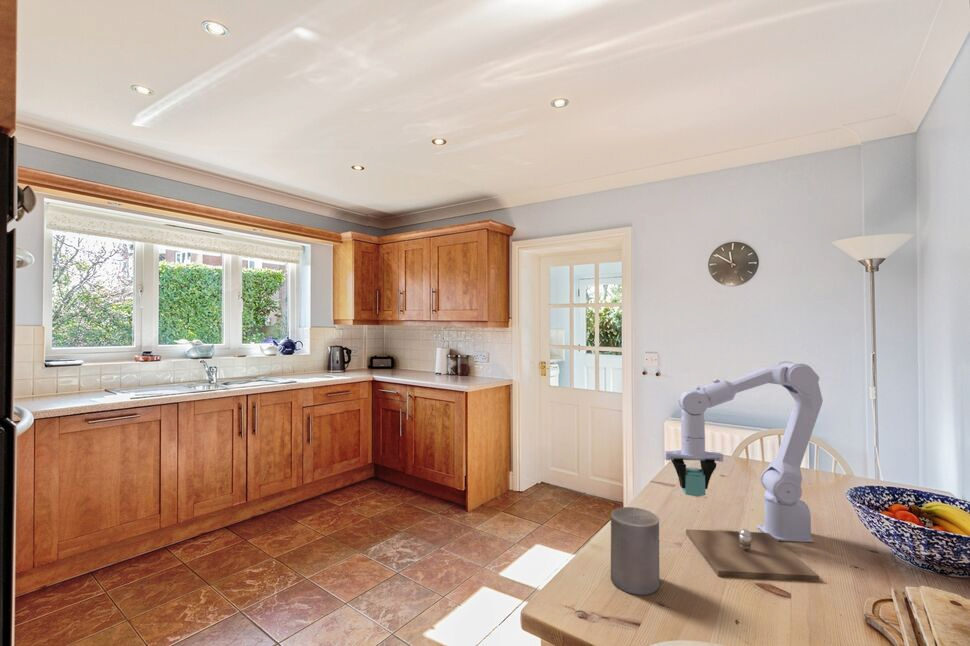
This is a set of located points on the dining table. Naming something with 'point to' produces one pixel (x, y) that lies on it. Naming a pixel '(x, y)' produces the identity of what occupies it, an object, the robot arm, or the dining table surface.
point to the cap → (694, 482)
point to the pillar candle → (635, 550)
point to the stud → (745, 539)
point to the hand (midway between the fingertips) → (693, 487)
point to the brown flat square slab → (749, 556)
